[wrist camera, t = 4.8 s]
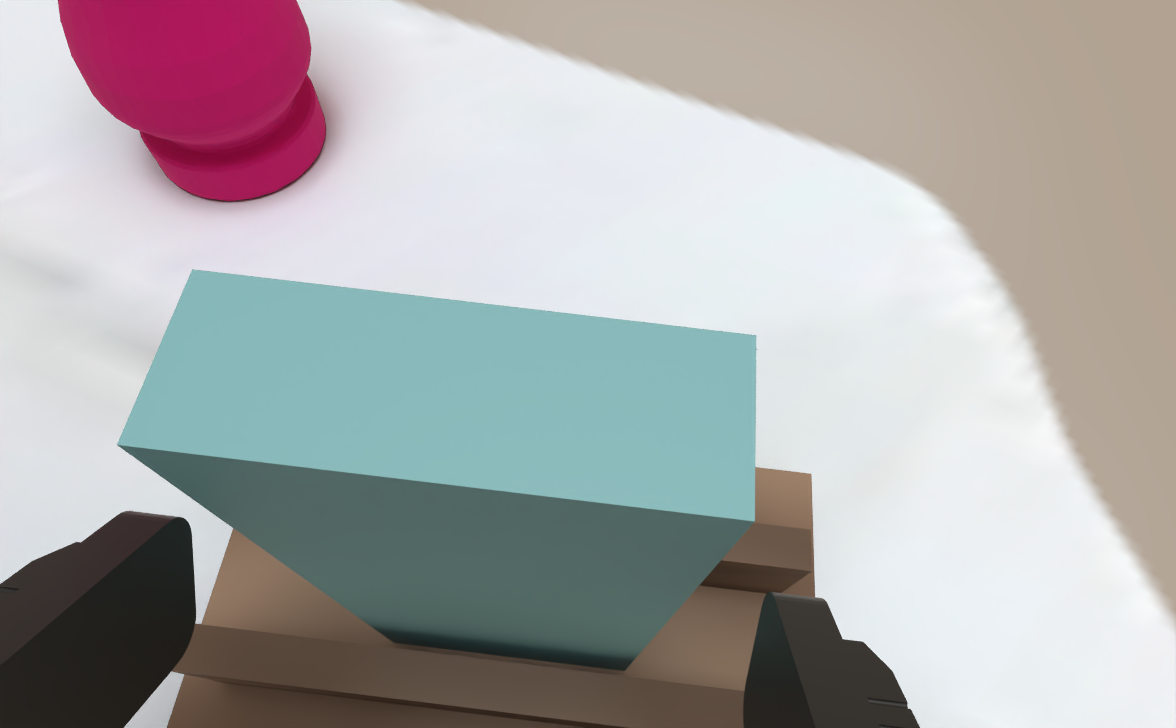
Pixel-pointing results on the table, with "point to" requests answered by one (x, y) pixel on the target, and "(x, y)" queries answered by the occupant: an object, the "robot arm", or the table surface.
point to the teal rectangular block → (459, 458)
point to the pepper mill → (205, 86)
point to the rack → (481, 681)
